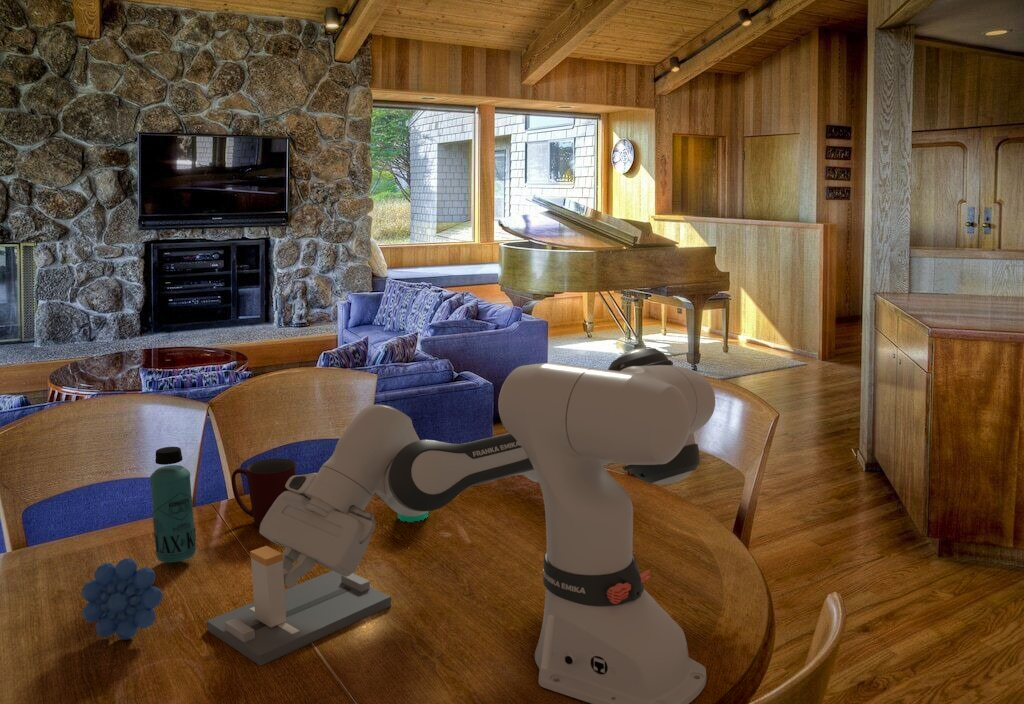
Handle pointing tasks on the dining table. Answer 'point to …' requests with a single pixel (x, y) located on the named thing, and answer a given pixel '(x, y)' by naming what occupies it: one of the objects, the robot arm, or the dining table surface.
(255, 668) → the dining table surface
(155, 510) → the beverage bottle
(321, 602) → the board
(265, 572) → the fader tab
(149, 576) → the blue flower
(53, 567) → the dining table surface
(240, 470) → the mug
